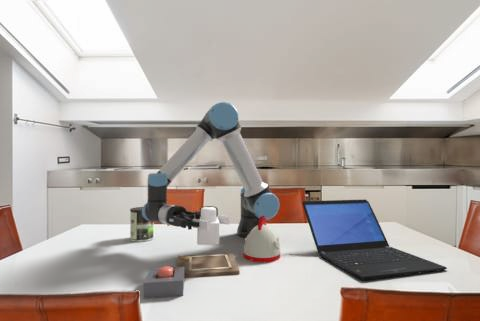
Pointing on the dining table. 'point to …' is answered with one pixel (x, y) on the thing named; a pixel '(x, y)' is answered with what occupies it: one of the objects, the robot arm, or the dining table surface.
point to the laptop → (358, 241)
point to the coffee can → (140, 226)
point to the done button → (165, 272)
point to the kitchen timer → (261, 244)
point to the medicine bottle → (213, 233)
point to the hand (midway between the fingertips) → (218, 222)
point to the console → (164, 284)
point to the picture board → (208, 265)
